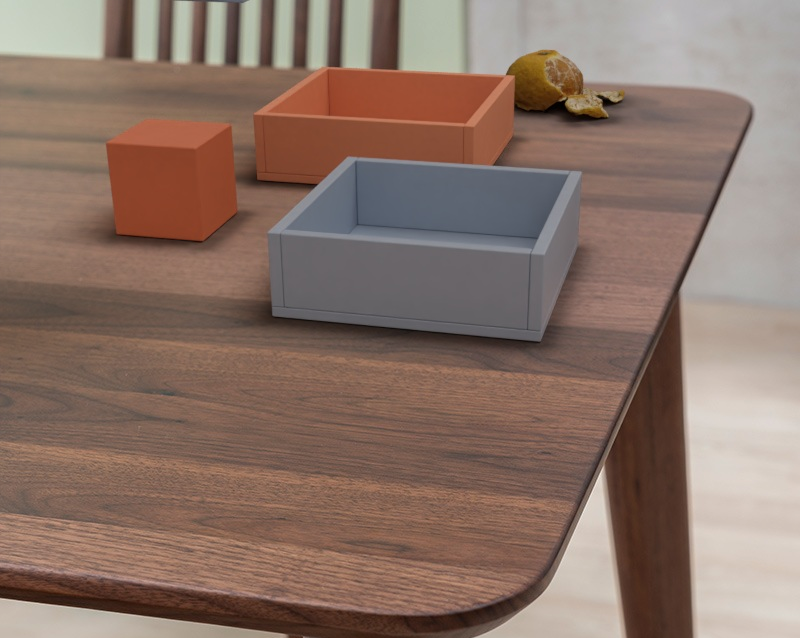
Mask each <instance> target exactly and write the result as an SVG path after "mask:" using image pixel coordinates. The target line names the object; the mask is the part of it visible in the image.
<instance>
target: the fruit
mask: <svg viewBox="0 0 800 638" xmlns="http://www.w3.org/2000/svg"><path fill="white" fill-rule="evenodd" d="M505 75H513V76H515V91H514V104H515V105H516V106H517V107H518V108H520V109H523V110H525V111H526V112H530V110H531V111H532V110H533V111H541V112H545V111H546V110H547V109H548V108H550V107H551V106H552V105H554V104H555V103H558V102H562V101H565V103H564V106H565V109H566V110H567V111H568V113H570V114H571V115H572V117H573V118H576V116H579V115H583V114H584V115H588V116H590V117H593V118H596V119H597V118H598V119H599V118H601V117H602V118H609V117H610V116H609V114H608V112H607V110H605V109H604V108H603V104H604V101H603V100H608V101H611V102H613V103H618V102H620V101H622V100H624V98H625V95H626V92H625V91H624V90H623V89H619V90H605V91H595V90H593V89H590V88H588V87H584V75H583V73H582V71H581V70H580V69H579V67H578V66H577V65H576V63H575V62H573V61H572V60H571V59H569V58H568V57H567V56H564V55H562V54H560V53H559V52H558V51H557V50H555V49H540V50H537V51H534V52H530V53H527V54H525V55H522V56H519V57H518V58H517V59H516V60H515V61H514V62H512V63H511V65H509V67H508V68H507V71H506V73H505Z"/></svg>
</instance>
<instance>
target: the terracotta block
mask: <svg viewBox="0 0 800 638" xmlns="http://www.w3.org/2000/svg"><path fill="white" fill-rule="evenodd" d="M233 141H234V140H233V127H232V123H226V122H211V121H209V122H208V121H193V120H191V121H190V120H174V119H173V120H172V119H158V118H157V119H156V118H146V119H144V120H142V121H140V122H139V123H137V124H135V125H134V126H132V127H130V128H129V129H127V130H125V131H123V132H122V133H119V134H118V135H116V136H114V137H113V138H111V139H110V140H108V141H106V142H105V148H106V157H107V167H108V174H109V182H110V190H111V198H112V199H111V200H112V208H113V216H114V224H115V232H116V235H119V236H121V235H122V236H131V237H132V236H133V237H134V236H135V237H145V238H159V239H169V240H170V239H171V240H182V241H194V242H204V241H205V240H207V239H208V238H209V237H210V236H211V235H213V234H214V233H215V232H216V231H218V229H219V228H221V227H222V226H223V225H224V224H226V223H227V222H228V221H229V220H230V219H231V218H233V216H235V215H236V214H237V213H238V211H239V209H238V198H237V184H236V174H235V173H236V171H235V169H236V168H235V157H234V144H233V143H234V142H233Z"/></svg>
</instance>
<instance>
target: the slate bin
mask: <svg viewBox="0 0 800 638" xmlns="http://www.w3.org/2000/svg"><path fill="white" fill-rule="evenodd" d="M582 180H583V171H581V170H563V169H552V168H551V169H549V168H535V167H534V168H532V167H517V166H515V167H514V166H502V165H501V166H500V165H493V166H488V165H472V164H456V163H440V162H424V161H409V160H393V159H377V158H361V157H359V158H358V157H347V158H346V159H345V160H344V161H343V162H342V163H341V164H340V165H338V166H337V167H336V168H335V169H334V170H333V171H332V172H331V173H330V174H329V175H328V176H327V177H326V178H325V179H324V180H323V181H321V182H320V183H319V184H316V186H315V187H314V188H313V189H311V191H310V192H309V193H307V194H306V195H305V196H304V197H303V198H302V199H301V200H300V201H299V202H298V203H297V204H296V205H295V206H294V207H293V208H291V210H289V211H288V212H287V213H286V214H284V216H283V217H282V218H281V219H280V220H278V222H277V223H276V224H275V225H273V226H272V227H271V228H270V229H269V230H268V231H267V236H266V237H267V251H268V266H269V283H270V299H271V301H270V302H271V315H272V317H276V318H286V319H296V320H307V321H317V322H327V323H328V322H329V323H339V324H349V325H360V326H370V327H380V328H391V329H400V330H401V329H403V330H413V331H423V332H433V333H445V334H454V335H464V336H474V337H485V338H496V339H507V340H516V341H517V340H518V341H527V342H539V343H540V342H541V341H542V339H543V336H544V334H545V331H546V329H547V326H548V324H549V322H550V319H551V316H552V314H553V311H554V308H555V306H556V304H557V301H558V298H559V296H560V293H561V291H562V289H563V285H564V283H565V281H566V279H567V275H568V273H569V271H570V268H571V266H572V265H571V264H573V263H572V262H573V260H574V258H575V255H576V252H577V251H578V249H579V248H578V247H579V233H580V215H581V198H582V183H583V182H582Z"/></svg>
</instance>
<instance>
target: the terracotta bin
mask: <svg viewBox="0 0 800 638" xmlns="http://www.w3.org/2000/svg"><path fill="white" fill-rule="evenodd" d="M514 91H515V76H513V75H506V74H490V73H489V74H487V73H470V72H469V73H466V72H448V71H447V72H446V71H424V70H403V69H382V68H381V69H379V68H360V67H359V68H358V67H337V66H321V67H319V68H318V69H317V70H315V71H314V72H313V73H311V74H309V75H308V76H307V77H305V78H304V79H302V80H301V81H299V82H298V83H297V84H295V85H294V86H292V87H291V88H289V89H288V90H286V91H284V93H282V94H281V95H279V96H277V97H276V98H275V99H273V100H272V101H271V102H269V103H267V104H266V105H265V106H263V107H262V108H260V109H258V110H257V111H256V112H254V113H253V114H252V116H253V134H254V135H253V136H254V149H255V150H254V151H255V165H256V179H257V181H262V182H263V181H265V182H279V183H280V182H281V183H291V184H293V183H294V184H308V185H310V184H311V185H318V184H319V183H320V182H321V181H323V180H324V179H325V178H326V177H327V176H328V175H329V174H330V173H331V172H332V171H333V170H334V169H335V168H336V167H337V166H338V165H340V164H341V163H342V162H343V161H344V160H345V159H346V158H347V157H358V158H359V157H361V158H377V159H393V160H409V161H424V162H440V163H456V164H472V165H488V166H494V165H495V162H497V160H498V158H499V157H500V156H501V154H502V153H503V151H504V150H505V148H506V147H507V146H508V144H509V143H510V141H511V139H512V138H513V136H514V121H515V120H514V119H515V118H514V117H515V103H514Z"/></svg>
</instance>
